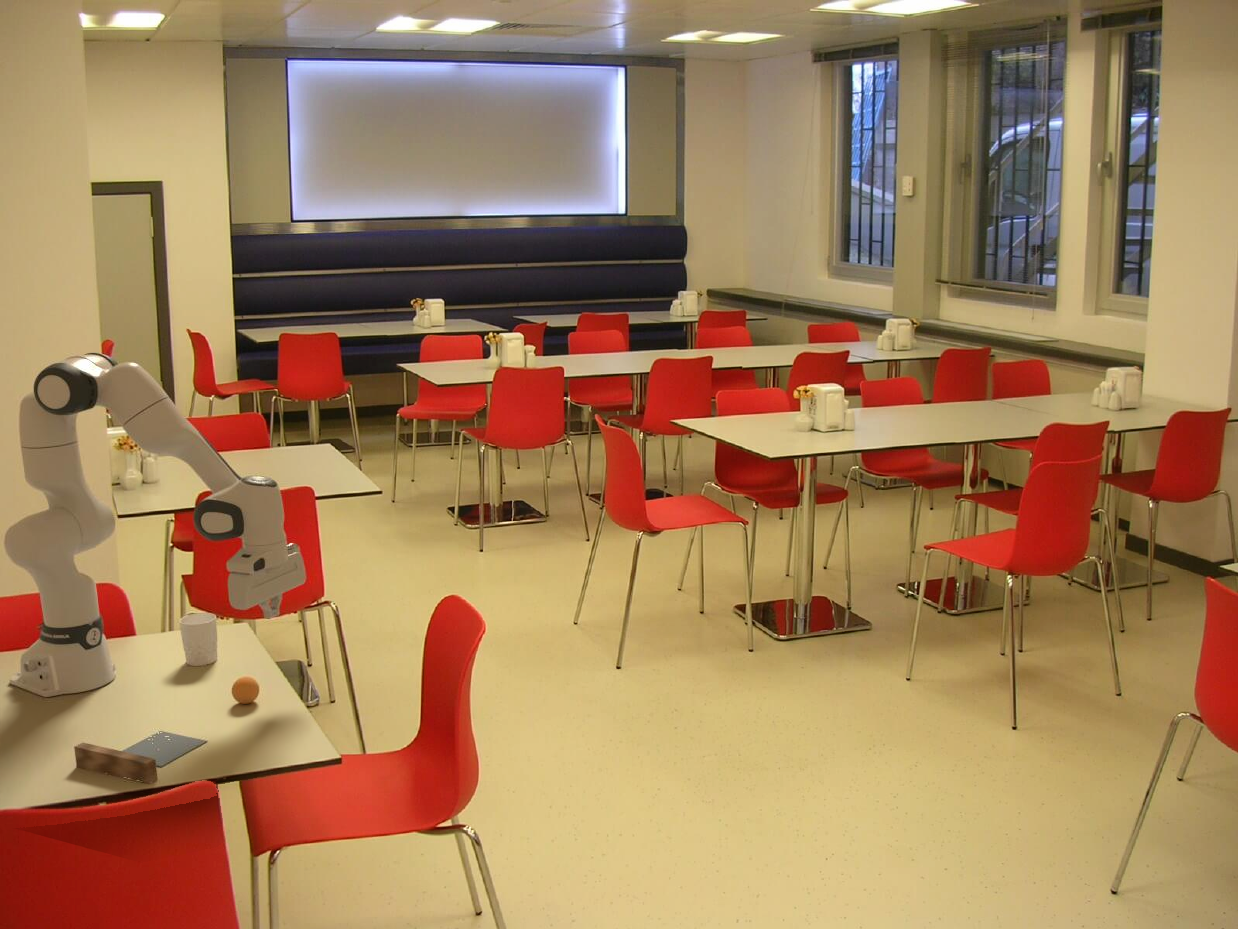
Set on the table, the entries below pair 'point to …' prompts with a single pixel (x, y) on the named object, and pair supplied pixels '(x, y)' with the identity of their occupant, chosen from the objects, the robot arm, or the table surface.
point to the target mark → (164, 747)
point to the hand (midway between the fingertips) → (272, 616)
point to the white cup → (199, 638)
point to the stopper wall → (115, 762)
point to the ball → (245, 690)
